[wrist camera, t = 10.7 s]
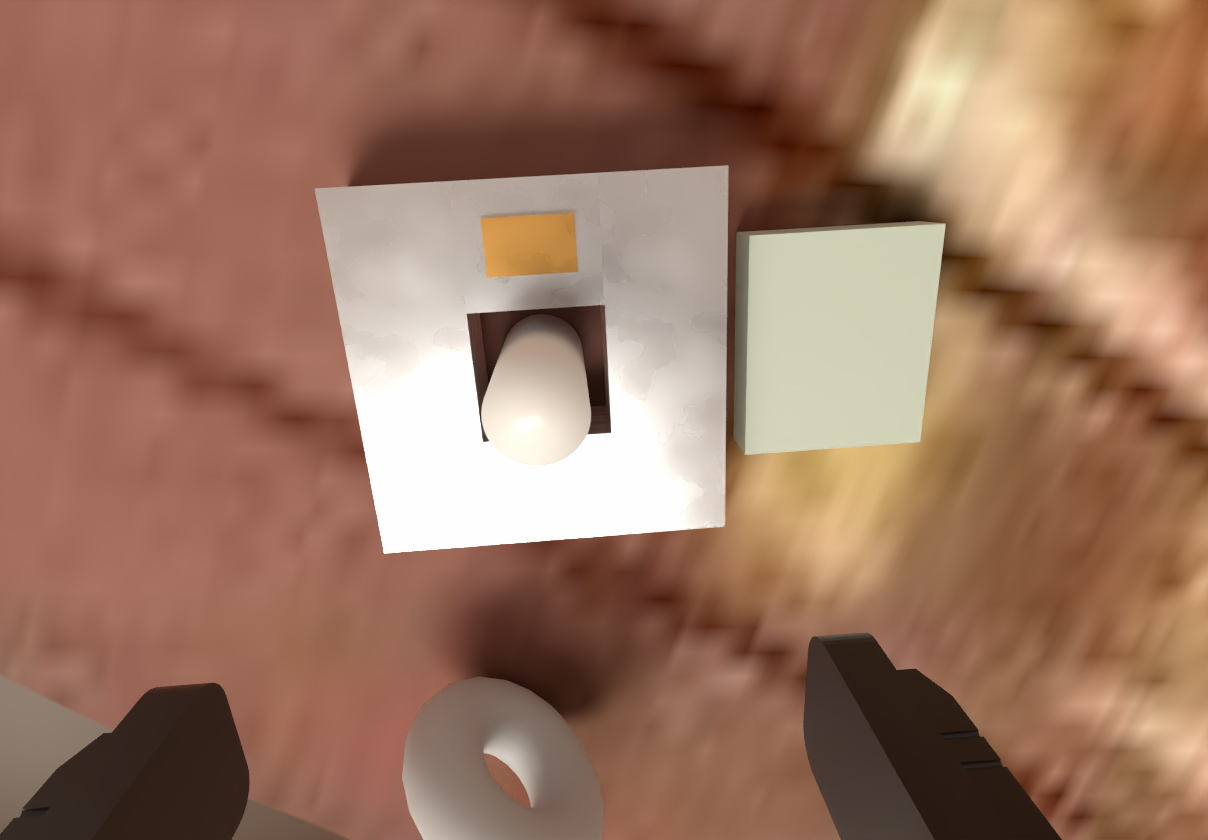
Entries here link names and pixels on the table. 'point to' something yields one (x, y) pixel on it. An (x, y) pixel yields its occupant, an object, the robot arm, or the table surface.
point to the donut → (518, 738)
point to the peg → (538, 393)
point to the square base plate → (833, 335)
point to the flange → (523, 282)
